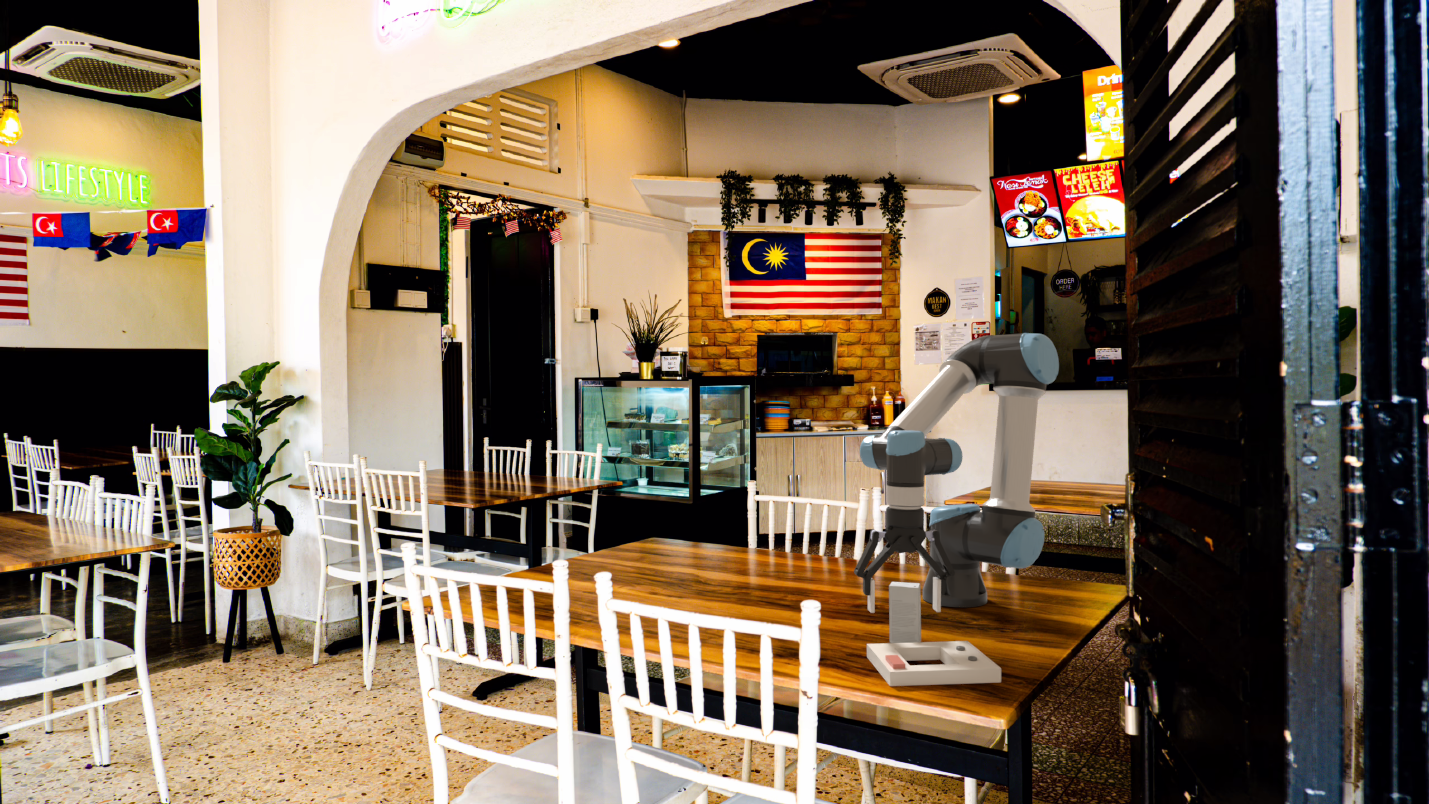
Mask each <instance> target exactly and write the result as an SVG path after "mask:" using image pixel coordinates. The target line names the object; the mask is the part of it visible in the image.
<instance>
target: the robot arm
mask: <svg viewBox="0 0 1429 804" xmlns="http://www.w3.org/2000/svg"><path fill="white" fill-rule="evenodd" d="M1058 355H1059V354H1058V352H1057V349H1056V347H1055V345H1054V342H1053V341H1052V340H1051V338H1049V337H1048V336H1047V335H1045V334H1042V333H1033V332H1032V333H1031V332H1030V333H1029V332H1022V333H1011V334H1009V333H1008V334H996V335H995V334H991V335H989V334H988V335H983V336H979V337H978V338H975V339H972V340H971V341H969V342H967V343H966V344H963V345H962V346H961V347H959V348H957V350H955V351H954V352H953V353H951V354H950V355H949V356H948V357H947V358H946V359H944V361H943V362H942V363H941V364H940V367H939V371H938V374H937V375H936V376H935V377H934V378H933V379H932V380H931V381H930V382H929V383H928V384H927V386H925V388H924V389H922V391H921V392H920V393H919V394H918V395H917V396H916V397H915V398H914V399H913V400H912V401H911V403H909V404H908V405H907V407H906V408H905V409H904V410H903V411H902V412H901V413H900V414H899V415H898V416H897V417H896V418H895V420H893V421H892V422H891V423H890V425H888V427H886V429H885V430H884V431H883V432H882V433H881V434H880V435H879V434H873V435H868V436H865V437H864V439H863V440H862V441H861V443H860V447H859V456H860V459H861V463H862V464H863V465H864V466H865V467H867V468H869V469H875V470H879V471H886V493H885V494H886V496H885V497H886V504H887V505H888V506H887V507H886V508H885V530H884V531H879V530H875V529H874V528H873V529H870V533H869V537H868V538H869V539H868V542H867V544H866V546H865V547H864V550H863V552H862V554H861V556H860V558H859V560H858V562H857V564H856V566H855V567H854V570H853V573H854V575H856V576H857V577H858V578H862V592H863V595H864V596H867V611H869V612H870V614H874V613H875V612H876V610H875V608H876V606H875V605H876V603H875V601H876V594H875V593H876V581H875V578H873V577H874V576H875V575H876V573H877V572H878V571H879V570H880V569H881V567H882V566H883V565H884V564H885V563H886V561H888V560H889V558H890V557H891V556H892V555H893V554H894V553H895V552H896V553H898V554H904V553H909V554H914V553H915V552H917V553H918V554H919V556H920V558H922V559H923V560H924V562H925V563H926V564H927V565H928V567H929V569H928V573H927V575H926V577H925V578H926V579H925V580H924V581H925V582H924V585H923V587H922V599H923V600H924V601H925V602H927V603H929V604H932V609H933V610H934V611H935V612H936V613H941V612H942V611H941V610H942V609H941V608H942V607H948V608H949V607H950V608H975V607H981V606H984V605H986V604H987V603H988V591H987V587H986V585H985V582H984V578H983V576H982V572H981V568H980V567H981V566H980V564H981V563H984V564H990V565H995V566H1001V567H1004V568H1009V569H1012V568H1014V569H1026V568H1029V567H1031V566H1032V565H1033V564H1034V563H1035V561H1036V560H1037V559H1038V558H1039V556H1040V554H1041V553H1042V550H1043V548H1044V547H1043V546H1044V543H1045V530H1044V526H1043V523H1042V522H1041V521H1040V520H1038V519H1037V518H1036V509H1035V508H1034V507H1033V505H1032V504H1031V503H1030V498H1031V497H1030V496H1031V487H1032V486H1031V485H1032V473H1033V465H1034V464H1033V461H1034V449H1035V439H1036V428H1037V417H1038V415H1037V414H1038V404H1039V403H1038V402H1039V400H1040V398H1041V397H1043V396H1044V395H1046V391H1047V385H1049V384H1052V383H1053V382H1054V381H1055V380H1057V376H1058V375H1059V370H1060V362H1059V360H1060V359H1059V356H1058ZM985 384H993V388H992V389H993V391H994V392H995V393H996V395H997V396H998V407H997V417H996V418H997V419H996V428H995V429H996V430H995V437H994V439H995V440H994V450H993V452H994V453H993V459H992V460H993V463H992V471H991V473H992V474H991V484H990V495H989V499H988V500H987V501H985V502H984V503H982V507H980V505H979V504H976V503H975V504H974V503H965V504H963V503H962V504H950V505H942V506H941V505H939V506H936V507H934V508H932V510H931V511H930V517H929V518H930V519H929V525H928V526H929V530H926V531H925V528H924V527H925V510H924V509H923V507H922V506H924V505H925V476H933V475H943V476H944V475H946V474H952V473H954V472H956V471H957V470H958V469H959V468H960V467H961V465H962V462H963V451H962V449H961V446H960V444H959V443H958V442H957V441H955V440H954V439H951V438H945V437H938V438H929V437H928V438H925V437H926V436H928V434H929V433H930V432H931V431H932V429H933V428H934V427H935V426H936V425H937V424H938V423H939V422H940V421H941V420H942V418H943V417H945V415H946V414H947V413H948V412H949V411H950V409H951V408H952V407H953V406H954V405H955V404H956V403H957V402H958V401H959V400H960V398H962V396H963V395H964V394H970V393H971V392H973V390H974V389H975V388H977V387H978V386H981V385H985ZM981 508H982V509H981ZM883 538H884V540H885V541H886V543H885V545H884V546H883V547H882V550H881V551H880V552H879V553H878V555H876V557H875V558H874V559H873V561H872V562H870V561H871V559H872V557H873V555H874V553H875V551H876V549H877V546H878V545H879V544H878V543H880V542H881V541H882V540H883ZM926 538H927V540H928V541H929V552H928V551H927V550H926V548H925V547H924V545H922V543H924V541H925V540H926ZM869 563H870V564H869Z"/></svg>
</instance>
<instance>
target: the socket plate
mask: <svg viewBox="0 0 1429 804" xmlns="http://www.w3.org/2000/svg"><path fill="white" fill-rule="evenodd" d="M866 658H867V660H869V662H870V663H871V665H873V667H874V668H875V669H876V670H877V671H878V673H879V674H880V676H881V677H882V678H883V679H884V680H885V682H886V683H887V685H888V686H890V687H900V686H901V687H904V686H906V687H907V686H908V687H909V686H931V685H932V686H933V685H961V684H962V685H964V684H992V683H998V684H999V683H1002V668H1001V667H1000V666H999V665H998V664H997V663H996V662H994V661H993V660H992V659H991V658H989V657H988V656H986V654H984V653H983V652H982V651H980V649H978V648H977V647H976V646H974V645H973V644H972V643H971V642H969V641H968V640H955V641H924V642H923V641H921V642H915V643H890V642H887V643H886V642H885V643H883V642H882V643H866ZM937 660H938V661H939V660H940V661H941V662H942V664H941V663H940V664H917V665H915V664H914V665H910V664H909V663H908V662H907V661H910V662H911V661H937Z"/></svg>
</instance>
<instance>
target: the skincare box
mask: <svg viewBox="0 0 1429 804" xmlns="http://www.w3.org/2000/svg"><path fill="white" fill-rule="evenodd" d="M921 593H922V592H921V583H919V582H903V581H901V582H900V581H891V582H890V584H889V585H888V606H889V607H888V612H889V614H888V615H889V616H888V617H889V619H888V621H889V622H888V623H889V625H888V626H889V627H888V628H889V643H915V642H922V616H921V615H922V613H921V612H922V611H921V610H922V607H921V603H922V601H921V599H922V598H921Z"/></svg>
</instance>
